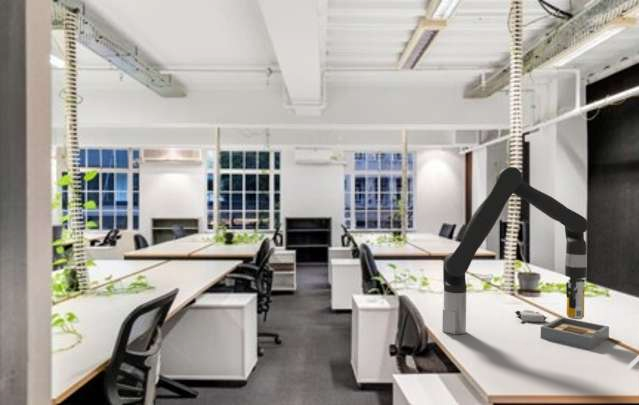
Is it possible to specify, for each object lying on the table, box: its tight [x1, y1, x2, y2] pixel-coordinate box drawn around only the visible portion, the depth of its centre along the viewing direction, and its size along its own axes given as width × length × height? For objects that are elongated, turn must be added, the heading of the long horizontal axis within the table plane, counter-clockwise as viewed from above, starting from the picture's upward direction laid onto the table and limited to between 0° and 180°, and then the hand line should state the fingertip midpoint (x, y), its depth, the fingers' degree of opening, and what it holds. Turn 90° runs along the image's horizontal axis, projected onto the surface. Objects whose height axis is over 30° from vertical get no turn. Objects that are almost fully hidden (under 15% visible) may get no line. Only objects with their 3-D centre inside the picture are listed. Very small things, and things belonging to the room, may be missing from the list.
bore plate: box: [552, 323, 598, 336], centre depth 178 cm, size 14×14×3 cm
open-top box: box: [540, 317, 610, 351], centre depth 178 cm, size 22×18×6 cm
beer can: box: [566, 279, 585, 320], centre depth 178 cm, size 6×6×15 cm
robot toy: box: [514, 309, 549, 324], centre depth 206 cm, size 12×4×15 cm
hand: (575, 306), depth 178 cm, fingers closed on beer can, 6 cm apart
